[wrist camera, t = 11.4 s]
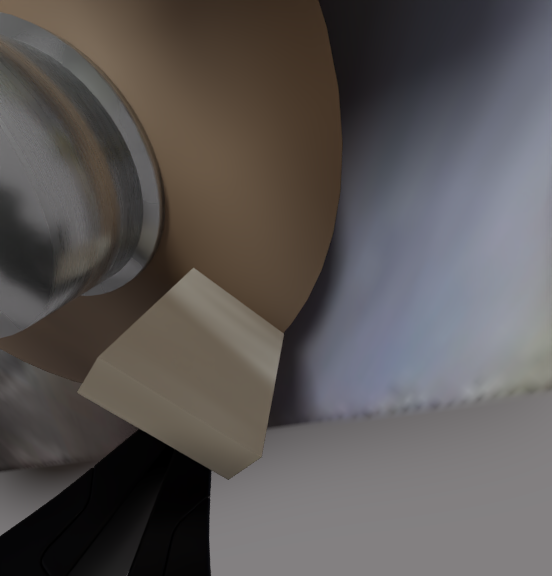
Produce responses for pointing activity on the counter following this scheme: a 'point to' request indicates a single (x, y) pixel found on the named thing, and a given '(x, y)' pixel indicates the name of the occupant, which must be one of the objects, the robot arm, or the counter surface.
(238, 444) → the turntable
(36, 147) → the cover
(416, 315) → the counter surface
